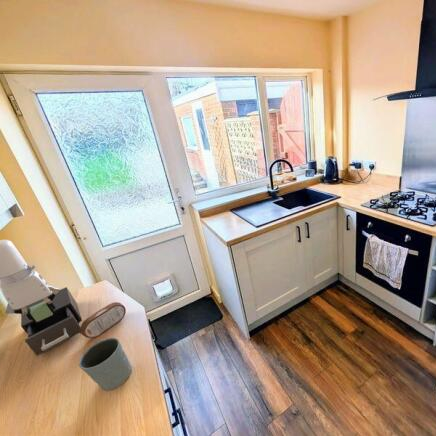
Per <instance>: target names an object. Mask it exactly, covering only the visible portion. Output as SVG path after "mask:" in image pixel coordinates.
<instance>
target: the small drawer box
mask: <svg viewBox="0 0 436 436" xmlns="http://www.w3.org/2000/svg"><path fill="white" fill-rule="evenodd" d="M49 296H50V295H49ZM43 301H44V300H43V299H41V300H39V301H37V302H34V303H32V304H30V305H27V308H28V309H30V307H32V306H34V305H37V304H39V303H41V302H43ZM52 302H53V303H54V305H55V307H56V308H55V309H54V310H55V312H57V311H59V310H61V309H63V308H65V307H67V306H70V307H71V309H72V310H73V312H74V313H75V316H76V319H77V323H80V322H81V321H82V316H81V312H80V309H79V306H78V303H77V301H76V300H75V298H74V296H73V295H72V293H71V292H70V290H69V289H68V287H67V286H66V287H63V288H60V289H59V292H58V293H57V294H56V295H55V297H54V299H53V301H52ZM20 315H21V316H20V327H21V328H22V330H23V331H24V332H25V333H26V334H27V335H28V325H29V324H31V323H33V322H34V321H33V320H29V319H28V317H27V316H26V315H23V314H20Z"/></svg>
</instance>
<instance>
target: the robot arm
mask: <svg viewBox="0 0 436 436" xmlns="http://www.w3.org/2000/svg"><path fill="white" fill-rule="evenodd" d="M35 269H37V266H36V265H35V264H32V265H29V264H28V263H27V262H26V260H25V259H24V257H23V256H22V254H21V253H20V252H19V250H18V249H17V247H16V246H15V244H14V243H13V242H12V241H11V240H9V239H0V292H1V293H2V295H3V297H4V299H5V300H6V302H7V304H6V306H5V310H4V314H6V315H10V314H11V315H12V314H15V315H21V314H23V315H26V316H27V317H28V319H29V320H33V321H34V322H35V321H36V320H35V319H34V318H33V316H32V315H31V314H30V309H28V308H27V305H30V304H32V303H34V302H37V301H39V300H41V299H43V300H44V301H45V302H46V303H47V306H48V308H49V309H50V310H51V312H52V313H54V312H55V310H54V309H55V308H56V307H55V305H54V303H53V302H52V301H53V299H54V297H55V295H56V294H57V293H58V292H59V290H60V288H59V287H57V286H53V285H49V284H48V283H47V281H46V280H45V279H44V278H43V276H42V275H41V274H40V273H39V272H38V271H36V270H35ZM49 295H50V296H49Z"/></svg>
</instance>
